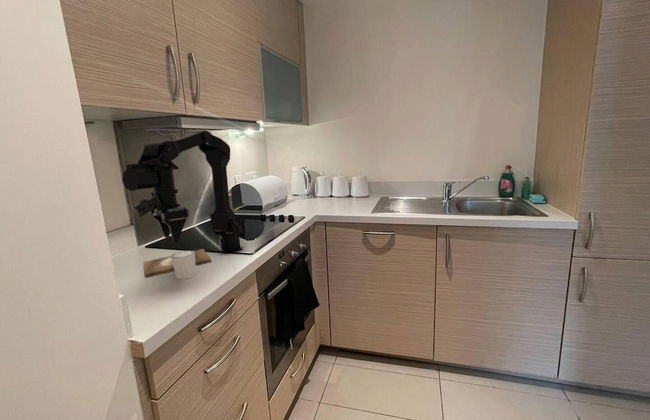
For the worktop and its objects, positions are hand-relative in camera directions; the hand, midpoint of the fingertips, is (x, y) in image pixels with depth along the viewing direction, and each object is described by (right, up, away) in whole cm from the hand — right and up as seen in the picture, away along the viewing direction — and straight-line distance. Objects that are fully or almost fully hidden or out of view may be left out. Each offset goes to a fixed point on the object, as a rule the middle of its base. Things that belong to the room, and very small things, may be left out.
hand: (171, 239), depth 95 cm
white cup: (+2, -12, +6) cm, 13 cm away
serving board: (-6, -10, +17) cm, 20 cm away
